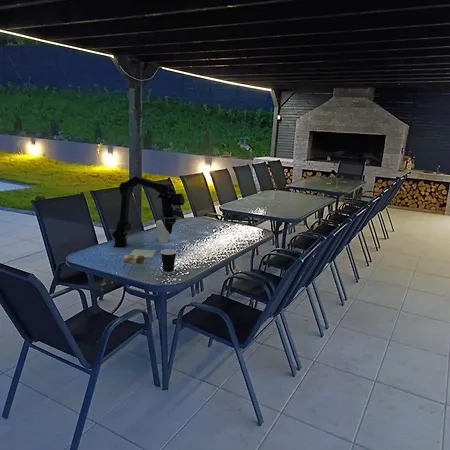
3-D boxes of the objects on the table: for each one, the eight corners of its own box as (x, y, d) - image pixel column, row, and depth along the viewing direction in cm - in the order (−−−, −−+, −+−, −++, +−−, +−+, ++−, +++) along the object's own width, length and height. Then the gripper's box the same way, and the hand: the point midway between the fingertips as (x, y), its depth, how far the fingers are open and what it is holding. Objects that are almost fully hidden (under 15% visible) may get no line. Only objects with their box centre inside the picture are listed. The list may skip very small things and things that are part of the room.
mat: (128, 257, 221) (128, 256, 221) (134, 250, 234) (134, 249, 233) (151, 258, 221) (151, 257, 221) (156, 251, 234) (156, 250, 233)
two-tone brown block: (123, 263, 212) (123, 257, 212) (125, 260, 217) (125, 254, 216) (141, 264, 212) (141, 258, 212) (143, 261, 217) (143, 255, 216)
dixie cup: (178, 274, 200) (178, 253, 197) (162, 275, 197) (162, 254, 194) (173, 268, 207) (173, 248, 204) (158, 270, 204) (158, 249, 201)
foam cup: (158, 243, 249) (158, 223, 246) (154, 239, 257) (154, 220, 254) (173, 242, 254) (173, 222, 250) (168, 238, 261) (168, 219, 258)
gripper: (183, 206, 219) (186, 233, 222) (177, 202, 236) (179, 227, 239) (163, 208, 216) (166, 236, 219) (159, 203, 233) (161, 229, 236)
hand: (169, 232), depth 228 cm, fingers open, 9 cm apart
